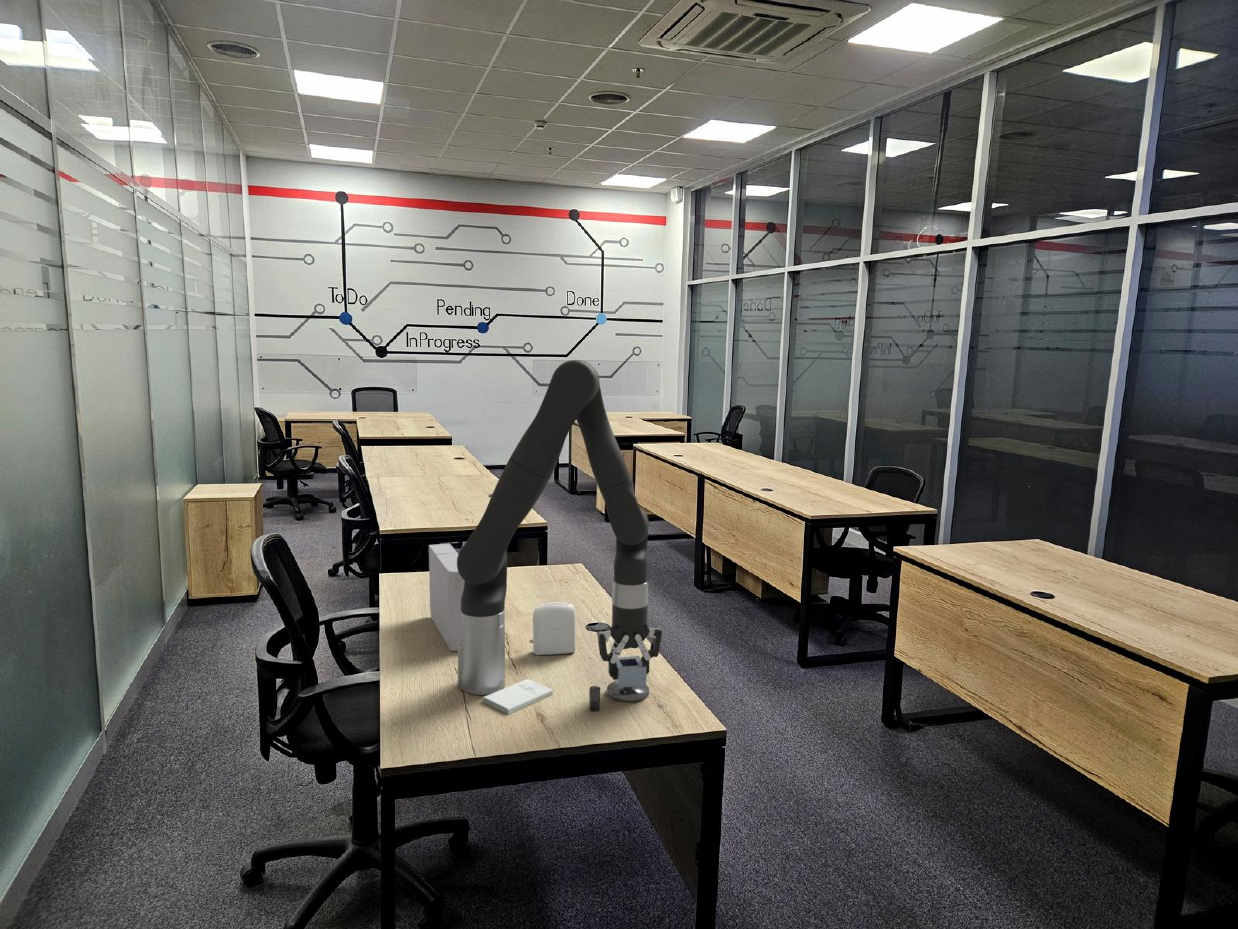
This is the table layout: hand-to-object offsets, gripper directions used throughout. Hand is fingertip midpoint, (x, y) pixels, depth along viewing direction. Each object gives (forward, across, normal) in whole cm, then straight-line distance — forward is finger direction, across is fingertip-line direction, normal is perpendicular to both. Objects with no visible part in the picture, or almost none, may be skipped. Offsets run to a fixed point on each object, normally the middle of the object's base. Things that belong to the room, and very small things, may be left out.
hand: (628, 676), depth 163 cm
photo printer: (+4, -12, +25) cm, 28 cm away
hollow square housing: (+1, 0, 0) cm, 1 cm away
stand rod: (+4, -9, -6) cm, 11 cm away
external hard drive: (+4, -23, +2) cm, 24 cm away
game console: (+4, -36, +43) cm, 57 cm away
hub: (+4, 0, 0) cm, 4 cm away
